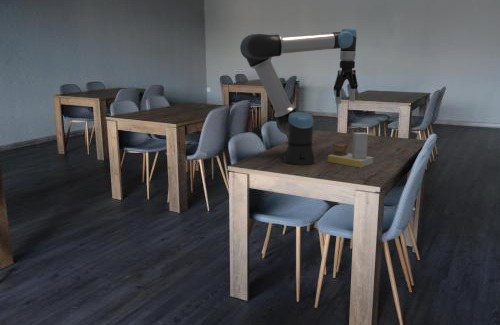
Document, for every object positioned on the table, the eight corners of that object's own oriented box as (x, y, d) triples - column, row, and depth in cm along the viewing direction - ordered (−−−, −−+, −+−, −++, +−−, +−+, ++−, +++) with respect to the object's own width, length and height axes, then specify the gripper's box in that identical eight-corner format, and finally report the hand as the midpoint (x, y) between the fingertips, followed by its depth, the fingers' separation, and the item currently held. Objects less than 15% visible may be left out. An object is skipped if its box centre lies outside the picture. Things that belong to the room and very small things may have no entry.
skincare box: (363, 156, 222) (365, 132, 219) (366, 158, 218) (368, 133, 215) (351, 157, 221) (352, 132, 219) (354, 159, 217) (355, 133, 214)
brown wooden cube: (342, 156, 223) (342, 146, 222) (333, 154, 226) (333, 144, 225) (347, 154, 226) (348, 144, 225) (338, 153, 230) (339, 143, 228)
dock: (360, 167, 213) (361, 161, 212) (327, 161, 225) (327, 155, 224) (372, 163, 222) (373, 157, 221) (340, 157, 234) (340, 151, 233)
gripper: (341, 60, 221) (338, 104, 226) (366, 60, 240) (363, 101, 245) (327, 60, 226) (325, 103, 231) (353, 60, 244) (350, 100, 249)
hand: (345, 102), depth 238 cm, fingers open, 13 cm apart
